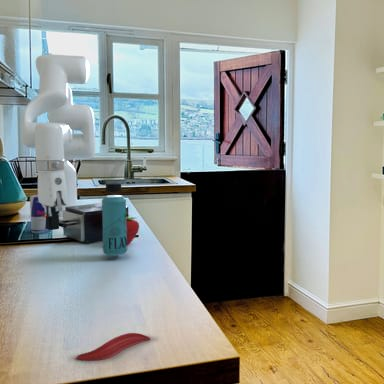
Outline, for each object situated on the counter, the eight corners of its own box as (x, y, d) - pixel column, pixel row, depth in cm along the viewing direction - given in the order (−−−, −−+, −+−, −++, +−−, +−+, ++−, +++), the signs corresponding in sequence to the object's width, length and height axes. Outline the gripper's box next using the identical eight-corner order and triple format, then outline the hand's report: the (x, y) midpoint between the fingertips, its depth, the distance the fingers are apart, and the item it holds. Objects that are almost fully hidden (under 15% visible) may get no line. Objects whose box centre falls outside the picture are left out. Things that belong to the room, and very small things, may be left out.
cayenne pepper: (79, 364, 70) (78, 352, 70) (72, 351, 74) (72, 339, 74) (157, 347, 76) (157, 335, 76) (147, 336, 80) (147, 325, 80)
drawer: (67, 243, 138) (66, 217, 137) (49, 237, 146) (48, 212, 145) (121, 234, 151) (120, 210, 150) (102, 229, 159) (102, 205, 157)
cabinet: (86, 244, 142) (85, 212, 140) (66, 237, 150) (65, 206, 149) (128, 236, 152) (128, 206, 151) (107, 230, 161) (107, 202, 159)
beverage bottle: (105, 262, 123) (103, 184, 120) (100, 256, 129) (98, 182, 126) (130, 259, 126) (129, 183, 123) (124, 253, 132) (122, 181, 129)
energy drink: (42, 234, 154) (41, 197, 152) (27, 233, 155) (26, 196, 153) (52, 230, 159) (51, 194, 158) (38, 229, 160) (36, 194, 159)
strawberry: (111, 244, 142) (110, 210, 141) (136, 241, 146) (135, 209, 145) (117, 248, 137) (116, 214, 136) (142, 245, 141) (142, 212, 140)
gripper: (74, 167, 135) (77, 231, 138) (51, 164, 146) (54, 223, 148) (48, 168, 130) (51, 235, 132) (26, 165, 141) (29, 227, 143)
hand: (52, 228), depth 140 cm, fingers closed
